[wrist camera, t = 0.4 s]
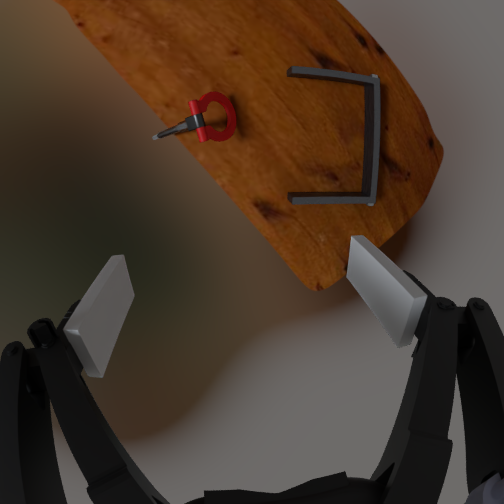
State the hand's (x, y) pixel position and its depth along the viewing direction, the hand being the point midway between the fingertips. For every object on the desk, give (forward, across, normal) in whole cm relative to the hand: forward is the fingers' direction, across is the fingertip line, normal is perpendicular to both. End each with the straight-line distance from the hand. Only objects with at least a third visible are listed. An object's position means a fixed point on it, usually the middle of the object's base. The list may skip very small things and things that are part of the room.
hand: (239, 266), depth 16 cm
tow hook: (+28, -2, +9) cm, 30 cm away
